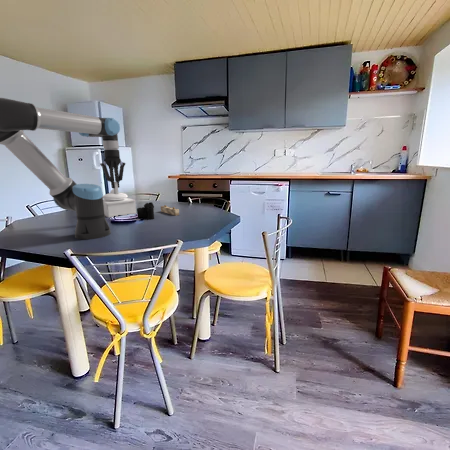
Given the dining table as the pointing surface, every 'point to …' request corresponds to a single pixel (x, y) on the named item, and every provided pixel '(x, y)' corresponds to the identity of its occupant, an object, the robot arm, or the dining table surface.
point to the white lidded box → (118, 204)
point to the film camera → (146, 211)
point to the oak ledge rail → (170, 210)
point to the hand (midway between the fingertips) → (116, 194)
